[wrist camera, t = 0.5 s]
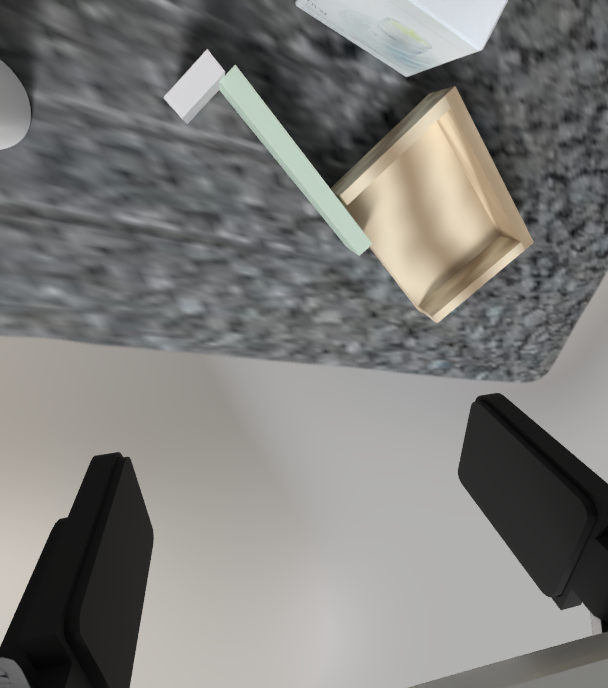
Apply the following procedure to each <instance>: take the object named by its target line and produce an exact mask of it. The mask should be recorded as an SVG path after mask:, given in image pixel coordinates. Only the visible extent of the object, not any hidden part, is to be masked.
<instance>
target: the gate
mask: <svg viewBox="0 0 608 688" xmlns="http://www.w3.org/2000/svg"><path fill="white" fill-rule="evenodd" d="M219 90H220V91H221V93H222V94H223V95H224V96H225V98H226V99H227V100H228V101H229V102H230V104H231V105H232V106H233V107H234V109H235V110H236V111H237V112H238V114H239V115H240V116H241V117H242V118H243V120H244V121H245V122H246V123H247V125H248V126H249V127H250V128H251V130H252V131H253V132H254V133H255V135H256V136H257V137H258V138H259V139H260V141H261V142H262V143H263V144H264V146H265V147H266V148H267V149H268V151H269V152H270V153H271V154H272V155H273V157H274V158H275V159H276V160H277V162H278V163H279V164H280V165H281V167H282V168H283V169H284V170H285V172H286V173H287V174H288V175H289V176H290V178H291V179H292V180H293V181H294V183H295V184H296V185H297V186H298V188H299V189H300V190H301V191H302V193H303V194H304V195H305V196H306V197H307V199H308V200H309V201H310V202H311V204H312V205H313V206H314V207H315V209H316V210H317V211H318V212H319V213H320V215H321V216H322V217H323V218H324V220H325V221H326V222H327V223H328V225H329V226H330V227H331V228H332V230H333V231H334V232H335V233H336V234H337V236H338V237H339V238H340V239H341V241H342V242H343V243H344V244H345V246H346V247H347V248H349V249H350V250H352V251H353V252H354V253H356V254H357V255H359V256H360V255H361V254H362V253H363V252H364V251H365V250H366V249H367V248H368V247H370V246H371V245H372V243H371V241H370V240H369V239H368V237H367V236H366V235H365V233H364V232H363V231H362V230H361V228H360V227H359V226H358V224H357V223H356V222H355V220H354V219H353V218H352V216H351V215H350V214H349V213H348V211H347V210H346V209H345V207H344V206H343V205H342V203H341V202H340V201H339V199H338V198H337V197H336V196H335V194H334V193H333V192H332V190H331V189H330V188H329V186H328V185H327V184H326V182H325V181H324V180H323V179H322V177H321V176H320V175H319V173H318V172H317V171H316V169H315V168H314V167H313V165H312V164H311V163H310V162H309V160H308V159H307V158H306V156H305V155H304V154H303V152H302V151H301V150H300V148H299V147H298V146H297V145H296V143H295V142H294V141H293V139H292V138H291V137H290V135H289V134H288V133H287V131H286V130H285V129H284V128H283V126H282V125H281V124H280V122H279V121H278V120H277V118H276V117H275V116H274V114H273V113H272V112H271V111H270V109H269V108H268V107H267V105H266V104H265V103H264V101H263V100H262V99H261V97H260V96H259V95H258V94H257V92H256V91H255V90H254V88H253V87H252V86H251V84H250V83H249V82H248V80H247V79H246V78H245V77H244V75H243V74H242V73H241V71H240V70H239V69H238V67H237V66H236V65H234V66H233V67H232V69H231V70H230V71H229V72H228V73H227V74H226V75H225V71H224V70H223V68H222V67H221V66H220V65H219V63H218V62H217V61H216V59H215V58H214V57H213V56H212V54H211V53H210V52H209V51H208V49H207V50H206V51H205V52H204V53H203V54H202V55H201V56H200V58H199V59H198V60H197V61H196V62H195V63H194V64H193V65H192V66H191V68H190V69H189V70H188V71H187V72H186V73H185V74H184V75H183V76H182V78H181V79H180V80H179V81H178V82H177V83H176V84H175V85H174V86H173V88H172V89H171V90H170V91H169V92H168V93H167V94H166V95H165V97H164V99H165V100H166V101H167V102H168V104H169V105H170V106H171V107H172V108H173V109H174V110H175V111H176V113H177V114H178V115H179V116H180V117H181V118H182V119H183V120H184V121H185V122H186V123H187V124H188V123H189V122H190V121H191V120H192V119H193V118H194V117H195V115H196V114H197V113H198V112H199V111H200V110H201V109H202V108H203V107H204V106H205V105H206V104H207V103H208V101H209V100H210V99H211V98H212V97H213V96H214V95H215V94H216V93H217V92H218V91H219Z"/></svg>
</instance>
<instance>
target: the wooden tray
mask: <svg viewBox="0 0 608 688" xmlns="http://www.w3.org/2000/svg"><path fill="white" fill-rule="evenodd" d="M330 189H331V190H332V192H333V193H334V194H335V196H336V197H337V198H338V199H339V201H340V202H341V203H342V205H343V206H344V207H345V209H346V210H347V211H348V213H349V214H350V215H351V216H352V218H353V219H354V220H355V222H356V223H357V224H358V226H359V227H360V228H361V230H362V231H363V232H364V233H365V235H366V236H367V237H368V239H369V240H370V241H371V243H372V245H371V246H370V249H371V250H372V251H373V252H374V254H375V255H376V256H377V258H378V259H379V260H380V261H381V263H382V264H383V265H384V267H385V268H386V269H387V270H388V272H389V273H390V274H391V276H392V277H393V278H394V280H395V281H396V282H397V283H398V285H399V286H400V287H401V289H402V290H403V291H404V292H405V294H406V295H407V296H408V298H409V299H410V300H411V302H412V303H413V304H414V305H415V307H416V308H417V309H418V310H419V311H420V312H422V313H424V314H426V315H427V316H428V317H430V318H431V319H432V320H433V321H435V322H436V323H438V322H439V321H440V320H442V319H443V318H444V317H445V316H446V315H448V314H449V313H450V312H451V311H452V310H454V309H455V308H456V307H457V306H458V305H460V304H461V303H462V302H463V301H464V300H466V299H467V298H468V297H469V296H470V295H472V294H473V293H474V292H475V291H476V290H478V289H479V288H480V287H481V286H482V285H484V284H485V283H486V282H487V281H488V280H489V279H491V278H492V277H493V276H494V275H495V274H497V273H498V272H499V271H500V270H501V269H503V268H504V267H505V266H506V265H507V264H509V263H510V262H511V261H512V260H513V259H515V258H516V257H517V256H518V255H519V254H521V253H522V252H523V251H524V250H525V249H527V248H528V247H529V246H530V245H531V244H533V243H534V242H533V240H532V238H531V236H530V234H529V232H528V230H527V228H526V226H525V224H524V222H523V220H522V218H521V216H520V214H519V212H518V210H517V208H516V206H515V204H514V202H513V200H512V198H511V196H510V194H509V192H508V190H507V188H506V186H505V184H504V182H503V180H502V178H501V176H500V174H499V172H498V170H497V168H496V166H495V164H494V162H493V160H492V158H491V156H490V154H489V152H488V150H487V148H486V146H485V144H484V142H483V140H482V138H481V136H480V134H479V132H478V130H477V128H476V126H475V124H474V122H473V120H472V118H471V116H470V114H469V112H468V110H467V108H466V106H465V104H464V102H463V100H462V98H461V96H460V94H459V92H458V90H457V88H456V86H453V87H450V88H446V89H443V90H439V91H436V92H433V93H429V94H428V95H427V96H426V97H425V98H424V99H423V100H422V101H421V102H420V103H419V104H418V105H417V106H416V107H415V108H414V109H413V110H412V111H411V112H409V113H408V114H407V115H406V116H405V117H404V118H403V119H402V120H401V121H400V122H399V123H398V124H397V125H396V126H395V127H394V128H393V129H392V130H391V131H390V132H389V133H388V134H387V135H386V136H384V137H383V138H382V139H381V140H380V141H379V142H378V143H377V144H376V145H375V146H374V147H373V148H372V149H371V150H370V151H369V152H368V153H367V154H366V155H365V156H364V157H363V158H362V159H361V160H360V161H358V162H357V163H356V164H355V165H354V166H353V167H352V168H351V169H350V170H349V171H348V172H347V173H346V174H345V175H344V176H343V177H342V178H341V179H340V180H339V181H338V182H337V183H336V184H335V185H333V186H332V187H331V188H330Z"/></svg>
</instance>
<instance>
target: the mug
mask: <svg viewBox="0 0 608 688" xmlns="http://www.w3.org/2000/svg"><path fill="white" fill-rule="evenodd" d="M30 122H31V108H30V102H29V99H28V96H27V93H26V91H25V89H24V87H23V85H22V83H21V82H20V80H19V79H18V77H17V76H16V75H15V74H14V72H13V71H12V70H11V69H10V68H9V67H8V66H7V65H6V64H5V63H4V62H3V61H1V60H0V149H6V148H9V147H12V146H14V145H16V144H17V143H18V142H20V141H21V140H22V139H23V138H24V136H25V135H26V133H27V131H28V129H29V126H30Z"/></svg>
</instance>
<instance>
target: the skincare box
mask: <svg viewBox="0 0 608 688" xmlns="http://www.w3.org/2000/svg"><path fill="white" fill-rule="evenodd" d="M507 1H508V0H296V2H295V4H296V6H297V7H299V8H300V9H302V10H304V11H305V12H307V13H308V14H310V15H311V16H313V17H314V18H316V19H317V20H319V21H321V22H322V23H324V24H325V25H327V26H328V27H330V28H331V29H333V30H335V31H336V32H338V33H339V34H341V35H342V36H344V37H345V38H347V39H348V40H350V41H352V42H353V43H355V44H356V45H358V46H359V47H361V48H362V49H364V50H365V51H367V52H369V53H370V54H372V55H373V56H375V57H376V58H378V59H380V60H381V61H383V62H384V63H386V64H387V65H389V66H390V67H392V68H393V69H395V70H396V71H398V72H399V73H401V74H402V75H404V76H405V77H408V76H411V75H414V74H416V73H419V72H422V71H425V70H427V69H430V68H433V67H436V66H439V65H441V64H444V63H447V62H450V61H452V60H455V59H458V58H461V57H464V56H466V55H469V54H472V53H475V52H478V51H481V50H482V49H483V48H484V46H485V44H486V43H487V41H488V39H489V37H490V35H491V33H492V31H493V29H494V27H495V25H496V23H497V21H498V19H499V17H500V15H501V13H502V11H503V9H504V7H505V5H506V3H507Z"/></svg>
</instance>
